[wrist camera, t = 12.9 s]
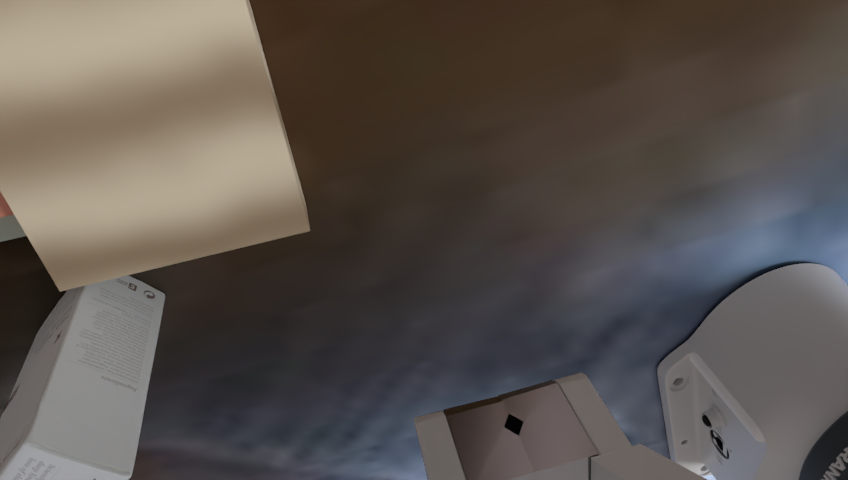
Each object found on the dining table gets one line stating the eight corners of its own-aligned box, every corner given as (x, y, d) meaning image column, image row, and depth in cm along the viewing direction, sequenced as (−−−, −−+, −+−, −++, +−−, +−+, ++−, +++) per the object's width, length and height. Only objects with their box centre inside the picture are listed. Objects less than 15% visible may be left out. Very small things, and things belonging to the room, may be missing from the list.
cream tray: (305, 203, 32) (310, 230, 30) (75, 258, 31) (59, 291, 28) (224, -89, 25) (221, -85, 22) (-88, -36, 23) (-129, -26, 21)
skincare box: (91, 255, 31) (14, 437, 21) (172, 293, 33) (137, 474, 23) (32, 335, 32) (-67, 542, 22) (114, 367, 35) (57, 567, 25)
